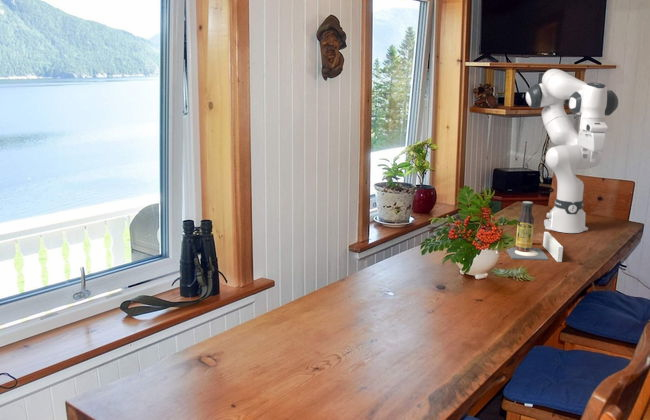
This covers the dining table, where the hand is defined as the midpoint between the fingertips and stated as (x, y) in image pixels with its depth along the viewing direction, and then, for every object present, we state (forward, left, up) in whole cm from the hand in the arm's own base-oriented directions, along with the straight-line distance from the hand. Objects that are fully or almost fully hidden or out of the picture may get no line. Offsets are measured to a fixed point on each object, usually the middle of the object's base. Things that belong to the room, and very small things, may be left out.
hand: (588, 160), depth 244 cm
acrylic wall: (+6, -12, -37) cm, 40 cm away
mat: (+8, -23, -37) cm, 44 cm away
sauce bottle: (+5, -23, -37) cm, 44 cm away
